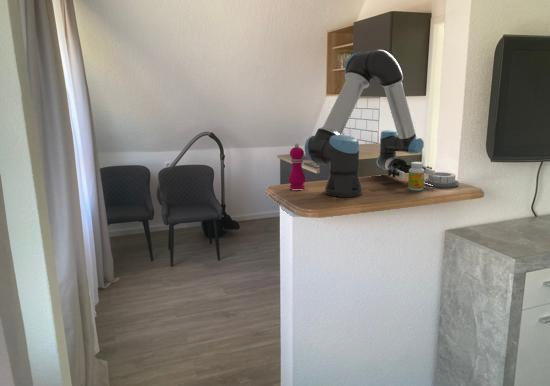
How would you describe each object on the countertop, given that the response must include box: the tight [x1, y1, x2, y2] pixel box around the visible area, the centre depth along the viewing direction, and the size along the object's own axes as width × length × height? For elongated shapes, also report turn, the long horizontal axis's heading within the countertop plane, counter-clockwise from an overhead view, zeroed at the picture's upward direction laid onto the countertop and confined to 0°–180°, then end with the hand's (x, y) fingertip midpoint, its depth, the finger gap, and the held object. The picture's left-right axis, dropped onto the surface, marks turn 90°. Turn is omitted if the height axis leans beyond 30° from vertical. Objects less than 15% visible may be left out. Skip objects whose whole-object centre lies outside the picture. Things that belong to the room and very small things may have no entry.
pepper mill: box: [288, 143, 306, 190], centre depth 179 cm, size 7×7×20 cm
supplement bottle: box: [407, 161, 425, 191], centre depth 175 cm, size 6×6×11 cm
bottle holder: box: [424, 171, 459, 189], centre depth 183 cm, size 14×14×4 cm
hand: (419, 174), depth 174 cm, fingers open, 13 cm apart
